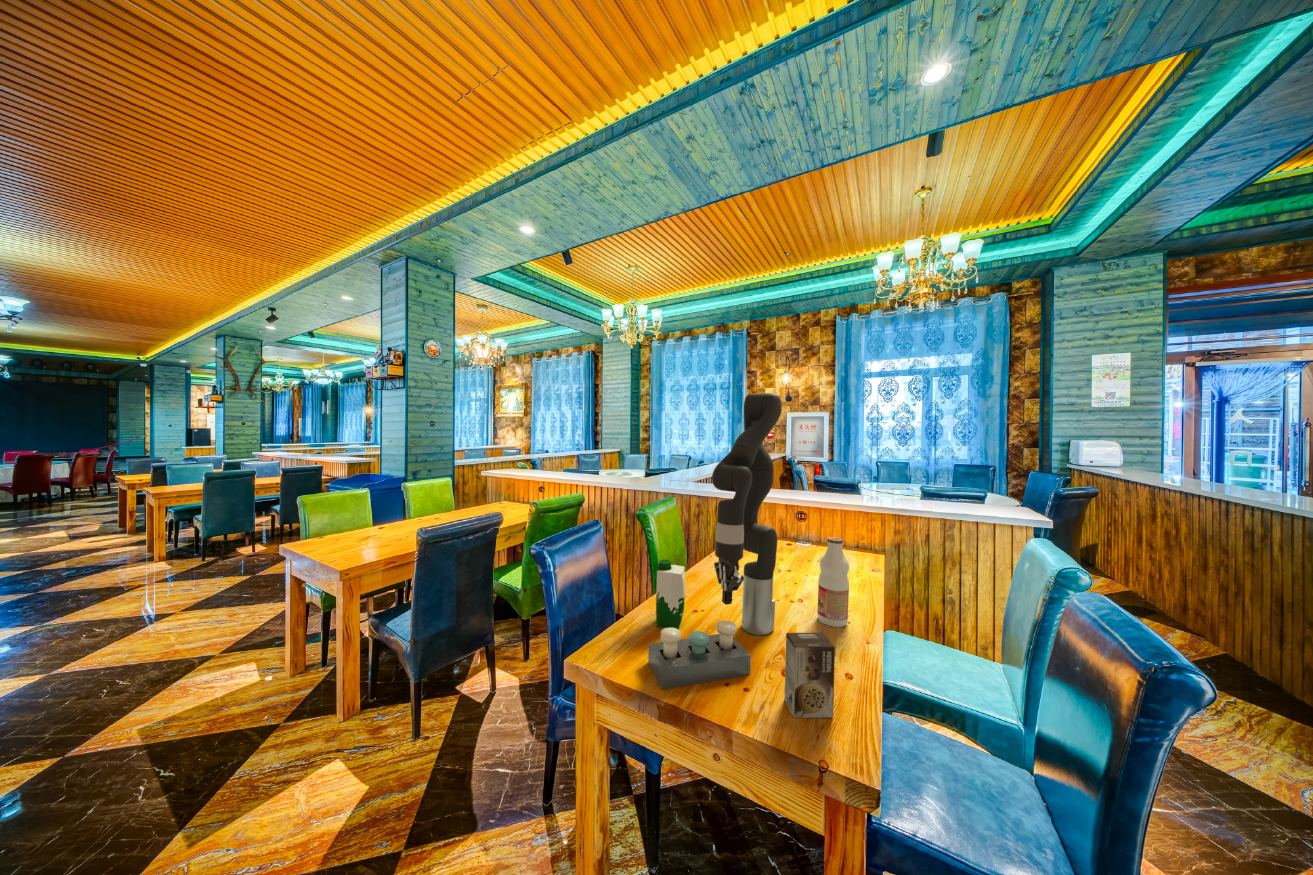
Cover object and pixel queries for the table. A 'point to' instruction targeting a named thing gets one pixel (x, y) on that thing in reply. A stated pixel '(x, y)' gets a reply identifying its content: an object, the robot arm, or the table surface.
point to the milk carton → (670, 595)
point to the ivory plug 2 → (726, 634)
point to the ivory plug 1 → (670, 642)
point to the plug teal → (698, 642)
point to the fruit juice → (833, 585)
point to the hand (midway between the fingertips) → (726, 603)
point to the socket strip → (698, 663)
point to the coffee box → (809, 675)
